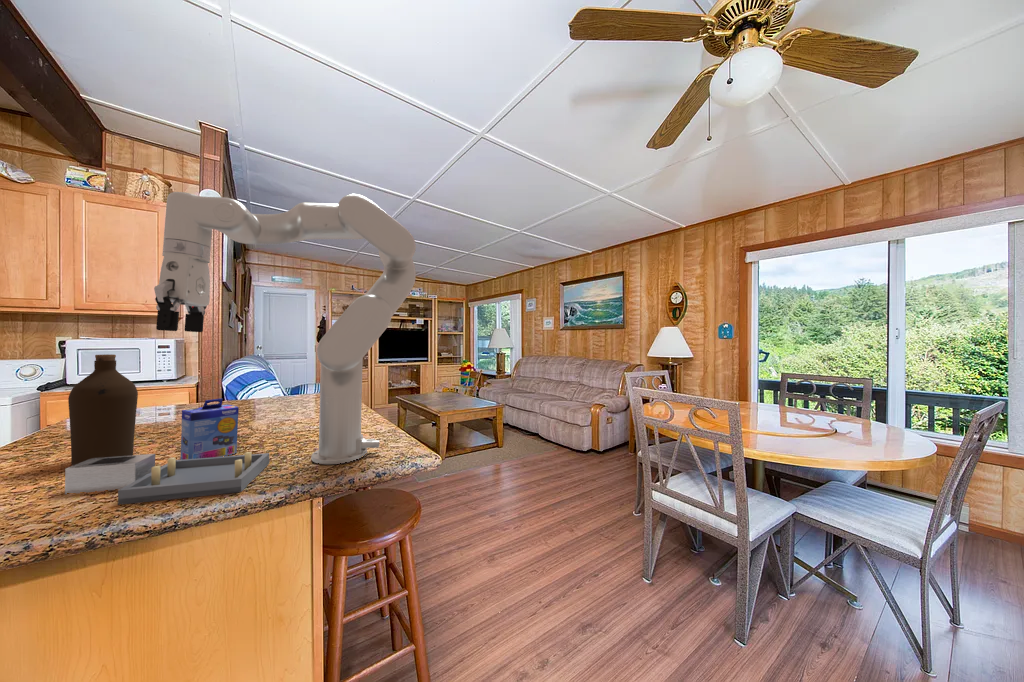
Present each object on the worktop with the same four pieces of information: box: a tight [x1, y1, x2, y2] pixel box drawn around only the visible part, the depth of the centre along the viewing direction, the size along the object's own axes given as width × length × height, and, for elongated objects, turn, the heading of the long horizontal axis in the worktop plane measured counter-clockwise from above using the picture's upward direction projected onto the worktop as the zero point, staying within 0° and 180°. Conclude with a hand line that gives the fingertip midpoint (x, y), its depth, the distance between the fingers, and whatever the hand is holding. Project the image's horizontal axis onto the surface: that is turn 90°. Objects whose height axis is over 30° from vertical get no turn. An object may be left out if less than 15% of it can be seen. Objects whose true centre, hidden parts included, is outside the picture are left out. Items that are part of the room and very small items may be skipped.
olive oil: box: [67, 353, 139, 466], centre depth 82 cm, size 11×11×25 cm
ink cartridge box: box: [180, 397, 240, 460], centre depth 85 cm, size 10×6×14 cm, turn 152°
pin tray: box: [117, 451, 270, 506], centre depth 71 cm, size 18×16×4 cm
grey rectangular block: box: [64, 453, 156, 495], centre depth 69 cm, size 10×6×5 cm, turn 109°
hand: (181, 331), depth 75 cm, fingers open, 9 cm apart
